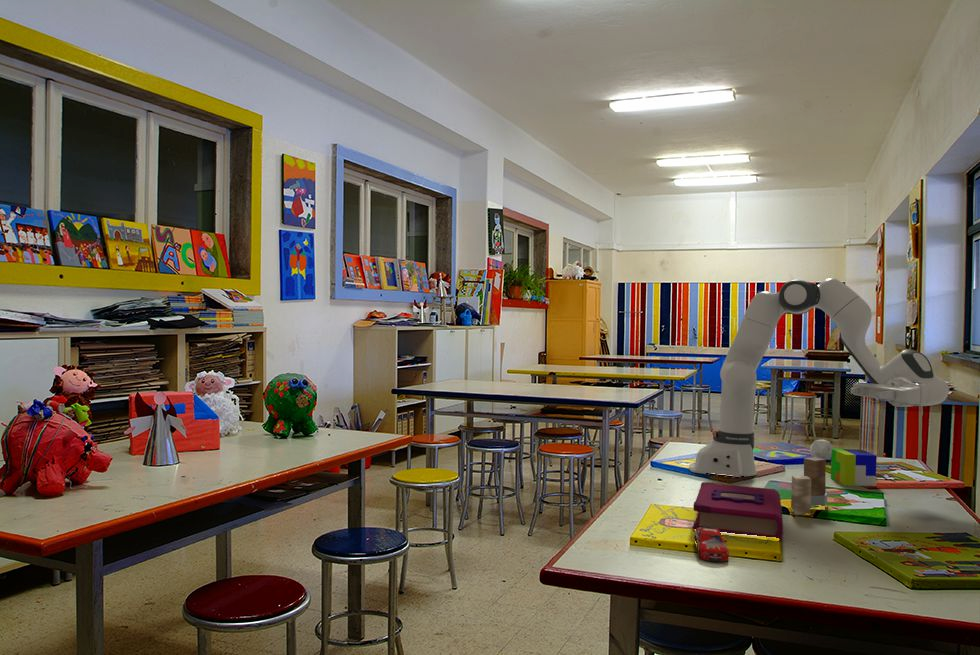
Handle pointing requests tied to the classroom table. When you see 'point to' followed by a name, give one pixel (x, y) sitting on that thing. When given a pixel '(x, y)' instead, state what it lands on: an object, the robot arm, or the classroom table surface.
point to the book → (739, 510)
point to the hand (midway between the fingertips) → (864, 392)
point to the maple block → (801, 494)
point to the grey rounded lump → (821, 449)
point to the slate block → (819, 500)
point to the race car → (711, 544)
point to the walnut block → (816, 474)
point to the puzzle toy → (853, 467)
